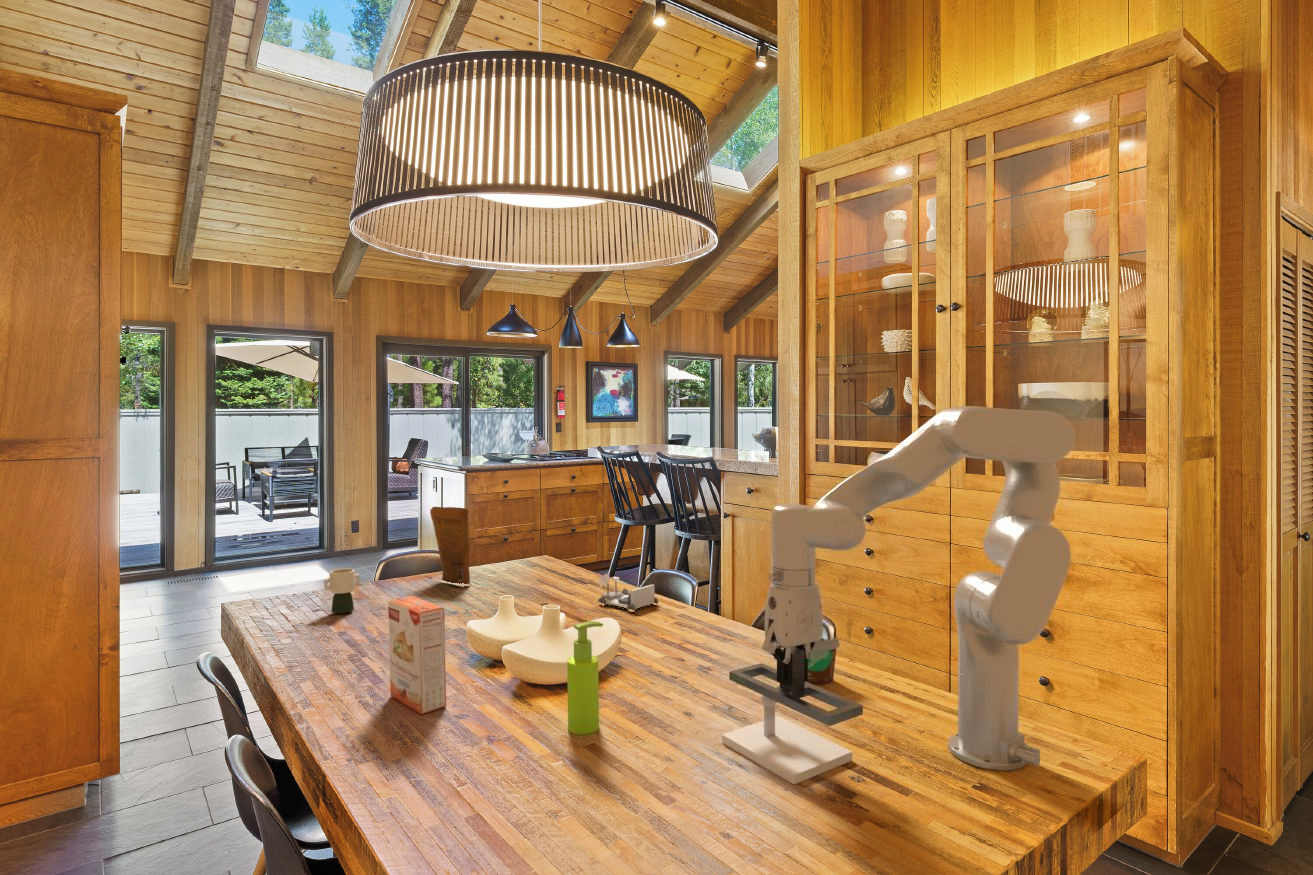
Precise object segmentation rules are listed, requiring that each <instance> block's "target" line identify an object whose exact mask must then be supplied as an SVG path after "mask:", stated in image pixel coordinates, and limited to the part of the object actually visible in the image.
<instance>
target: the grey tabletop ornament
mask: <svg viewBox="0 0 1313 875" xmlns="http://www.w3.org/2000/svg"><path fill="white" fill-rule="evenodd" d="M600 574H601V576H600V577H599V578H598V582H600V583H602V584H603V585H607V587H606V589H607V593H603V594H601V597H599V598H598V600H597V603H598V602H601V603H604V604H606V603H608V604H614V605H618V606H622V607H626V608H628V609H632V610H636V608H640V607H642V606H646V605H649V604H653V603H656V604H657V603H658V604H659V599H658V598H657V596H655V584H649V585H645V586H642V587H637V588H635V589H631V590H630V592H629V590H628V589H627V588H623V589H622V591H618V589H617V582H619V581H620V577H618V576H612V577H611V576H610V573H605V574H603V573H600ZM610 578H611V580H612V581H613V582H615V586H614V587H615V588H614V589H615V590H614V591H609V589H610V588H609V587H610V586H609V583H610ZM606 605H607V604H606ZM649 606H650V605H649ZM646 607H647V606H646ZM640 609H641V608H640Z"/></svg>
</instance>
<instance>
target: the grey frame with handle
mask: <svg viewBox="0 0 1313 875" xmlns="http://www.w3.org/2000/svg"><path fill="white" fill-rule="evenodd" d="M781 651H782V652H783V651H784V648H781ZM804 662H805V651H803V650H801V649H798V648H795V647H791V653H790V663H792V665H793V672H792V686H790V687H788V686H786V685H783V684H781V683H779V686H777V687H775V686H773V685H771V684H768V683H766V682H764V681H763V680H762V681H761V680H759V679H757V678H755V677H758V676H759V677H760V676H763V677H766V678H767V679H770V680H772V681H774V682H777V668H775V667H771V666H770V665H767V664H765V663H762V662H760V663H757V664H753V665H750V666H749V665H748V666H746V667H741V668H737V669H733V670H730V671H729V673H728V674H729V675H728V676H729V677H728V678H729V679H728V680H729V681H731V682H734V683H735V684H739V685H741V686H742V687H744V688H747V689H749V690H750V691H753V692H754V693H757V694H759V695H761V696H762V695H763V696H765V697H768V698H770V699H772V700H774V701H776V702H777V703H778V704H781V705H783V706H784V707H787V708H789V709H791V710H794V711H795V712H797V713H800V714H801V715H804V716H806V717H808V718H811V719H812V720H814V721H817V722H819V723H821V724H823V725H826V726H828V727H831V726H833V725H838V724H839V723H843V722H845V721H848V720H852V719H854V718H857V717H860V716H863V713H864V711H863V710H864V705H863V704H860V703H858V702H856V701H853V700H851V699H848V698H846V697H843V696H841V695H839V694H837V693H835V692H832V691H829V690H828V689H825V688H822V687H820V686H819V685H813V684H810V683H808V682H805V680H804ZM777 683H778V682H777ZM805 697H810V698H813V699H816V700H818V701H819V702H822V703H825V704H827V705H829V706H832V707H834V709H832V710H829V711H828V710H827V709H824V708H822V707H819V706H817V705H815V704H812V703H810V702H808V701H806V700H804V699H802V698H805Z"/></svg>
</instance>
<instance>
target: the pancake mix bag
mask: <svg viewBox="0 0 1313 875" xmlns="http://www.w3.org/2000/svg"><path fill="white" fill-rule="evenodd" d="M429 511H430V512H429V513H430V518H431V521H432V525H433V530H434V535H435V539H436V544H437V549H438V553H439V554H438V555H439V561H440V566H441V571H442V576H441V580H444V581H447V582H451V583H459V584H460V583H461V584H462V583H464V584H468V583H469V584H470V585H471V581H470V580H471V577H470V550H471V549H470V548H471V546H470V531H469V530H470V529H469V528H470V525H469V523H470V521H469V520H470V518H469V514H470V510H469V509H467V508H464V507H455V506H453V507H452V506H448V507H447V506H444V507H443V506H432V508H431V509H430V510H429Z"/></svg>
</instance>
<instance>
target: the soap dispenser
mask: <svg viewBox="0 0 1313 875" xmlns="http://www.w3.org/2000/svg"><path fill="white" fill-rule="evenodd" d="M603 626H604V624H603V623H601V622H600V621H596V620H594V621H593V620H592V621H591V620H588V621H583V622H579V623H574V624H573V628H574V629H576V630H577V639H576V640H574V641H573V656H570V657H569V658H568V659H567V662H566V665H567V666H566V668H567V669H566V670H567V671H566V672H567V673H566V674H567V729H568V732H569V733H571V734H575V735H581V736H582V735H590V734H593V733H595V732H598V730H599V729H600V728H599V727H600V705H599V704H600V700H599V697H600V695H599V694H600V693H599V692H600V690H599V687H600V686H599V681H600V680H599V677H600V676H599V657H597V656H595V655H593V653H592V652H593V648H592V646H593V644H592V643H593V642H592V640H591V639H589V638H588V629H590V628H592V627H593V628H595V627H596V628H597V627H601V628H602V627H603Z"/></svg>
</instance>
